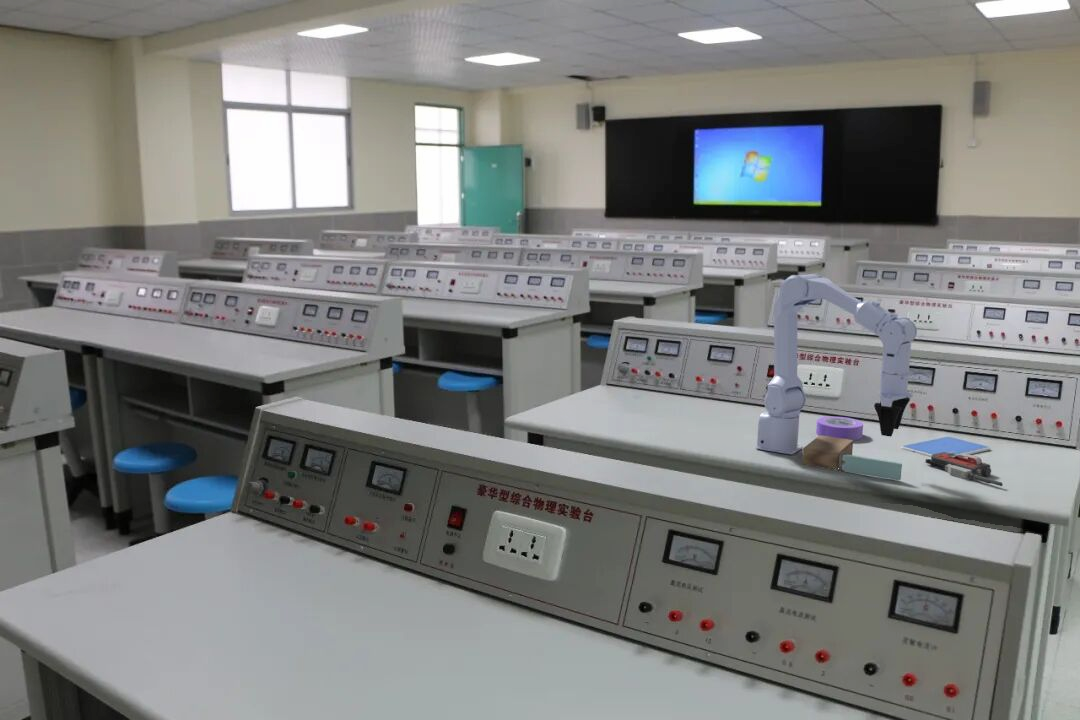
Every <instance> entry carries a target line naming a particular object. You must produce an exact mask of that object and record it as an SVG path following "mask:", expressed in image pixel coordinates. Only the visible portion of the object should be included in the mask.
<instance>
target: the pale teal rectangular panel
mask: <svg viewBox="0 0 1080 720" xmlns="http://www.w3.org/2000/svg"><path fill="white" fill-rule="evenodd" d="M842 461H845V463H844V464H842V471H843V472H845V473H846V472H847V473H853V474H858V475H864V476H869V477H877V478H883V479H889V480H893V481H901V479H902V466H903V463H902V462H899V461H898V462H897V461H892V460H885V459H878V458H872V457H866V456H860V455H859V456H858V455H853V454H852V455H848V454H846V455H843V460H842Z"/></svg>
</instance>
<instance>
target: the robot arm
mask: <svg viewBox="0 0 1080 720" xmlns="http://www.w3.org/2000/svg"><path fill="white" fill-rule="evenodd" d="M779 287H780V288H779V289H780V291H779V292H778V295H777V297H776V299H775V302H774V306H773V308H774V309H773V310H774V312H773V325H774V326H773V332H774V333H773V334H774V335H773V342H774V343H773V344H774V345H773V346H774V347H773V349H774V350H773V351H774V352H773V353H774V354H773V356H774V358H773V361H774V362H773V363H774V364H773V365H774V366H773V372H774V373H773V374H774V375H773V378H772V379H771V380H770V381H769V383H768V384H767V389H766V390H767V392H766V394H765V396H764V400H763V401H764V407H765V410H766V411H763V412H761V414H760V416H759V418H758V425H757V442H756V443H757V445H756V447H755V449H756V450H762V451H767V452H772V453H773V452H775V453H779V454H784V455H785V454H786V455H791V456H792V455H795V454H796V453H797V452H799V451H800V450H801V449H803V448H804V447H803V445H799V444H798V441H799V428H800V427H799V425H800V414H801V410H802V409H803V408H804V407H805V406H806V402H807V397H806V396H807V395H806V393H805V391H804V386H803V385H804V384H803V381H802V380H801V379H800V378H799V376H798V313H799V312H800V311H801V310H802V309H803V308H804V307H806V306H807V305H808V304H810V303H812V302H815V301H817V300H825V301H827V302H829V303H831V304H832V305H835V306H836V307H839V308H840V309H842V310H843V311H846V312H848V313H850V314H852V316H853V318H854V321H855V323H856V324H858V325H860V326H862V327H863V328H865V329H866V330H868V331H870V332H871V333H873V334H875V335H877V336H878V338H879V340H880V341H881V343H882V355H881V356H882V357H881V367H880V381H879V390H878V395H879V397H880V398H881V402H874V406H873V407H874V409H875V412H876V414H877V417H878V422H879V423H878V424H879V430H880V434H881V436H883V437H892V436H893V434H894V430H898V429H899V428H900V425H901V422H902V419H903V415H904V412H905V410H906V408H907V406H908V404H909V403H910V401H911V398H913V396H914V395H913V393H912V392H908V386H909V373H910V365H911V364H910V362H911V350H912V349H911V348H912V342H913V341H914V340H915V338H916V337H917V333H918V330H917V326H916V324H915V323H914V322H913V321H912V320H911V318H909V317H904V316H903V317H898V315H899V314H898V313H896V312H890V311H888V310H886V309H885V308H883V306H880V305H881V303H880V302H879V301H877V300H874V301H871V300H865V301H861V300H859V299H857V298H856V297H855V296H854V295H852V294H850V293H848V292H847V291H846V290H844V289H843V288H841V287H839V286H838V285H837V284H835V283H834V282H832V281H831V280H830V278H828V277H823V276H822V275H821V274H819V273H815V272H814V273H810V274H799V275H798V274H797V275H796V274H792V275H790V276H788V277H787V278H786V279H784V280H783V281H782V282H780V285H779Z"/></svg>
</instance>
